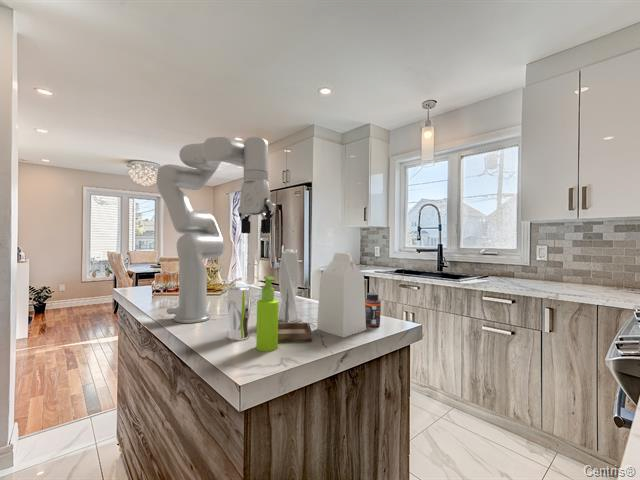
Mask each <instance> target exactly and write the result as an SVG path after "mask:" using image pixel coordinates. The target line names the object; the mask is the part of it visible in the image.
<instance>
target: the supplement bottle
mask: <svg viewBox="0 0 640 480" xmlns="http://www.w3.org/2000/svg"><path fill="white" fill-rule="evenodd" d="M381 302H382V301H381V300H380V299H379V294H378V293H376V292H375V293H374V292H367V293H366V298H365V319H366V327H369V328H370V327H371V328H377V326H378V327H380V325H381V304H382V303H381Z"/></svg>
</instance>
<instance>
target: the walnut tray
mask: <svg viewBox="0 0 640 480" xmlns="http://www.w3.org/2000/svg"><path fill="white" fill-rule="evenodd" d="M312 331H313V330H312V328H311V324H310V322H298V323H278V343H302V342H303V343H309V342H313V332H312Z"/></svg>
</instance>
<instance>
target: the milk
mask: <svg viewBox="0 0 640 480" xmlns="http://www.w3.org/2000/svg"><path fill="white" fill-rule="evenodd" d="M318 293H319V294H318V308H317V319H316V329H317V330H318V331H322V332H325V333H328V334H331V335H335V336H337V335H338V337H340V336H341V338H346V337H350V336H352V334H353V335H355V333H356V334H359V333H362V332H361V331H363V332H365V331H364V330H366V331H367V326H366V319H365V299H366V298H365V297H366V296H365V295H366V294H365V293H366V292H365V276H364V273H363V272H362V270H360V268H359V267H358V266H357V265H356V264H355V262H354V260H353V257H352V254H351V253H349V252H335V253H334V255H333V257H332V261H330V262H329V264H328V265H327V266H326V267H325V268H324V269H323V271H322V272H321V274H320V279H319V292H318ZM358 332H359V333H358Z"/></svg>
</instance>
